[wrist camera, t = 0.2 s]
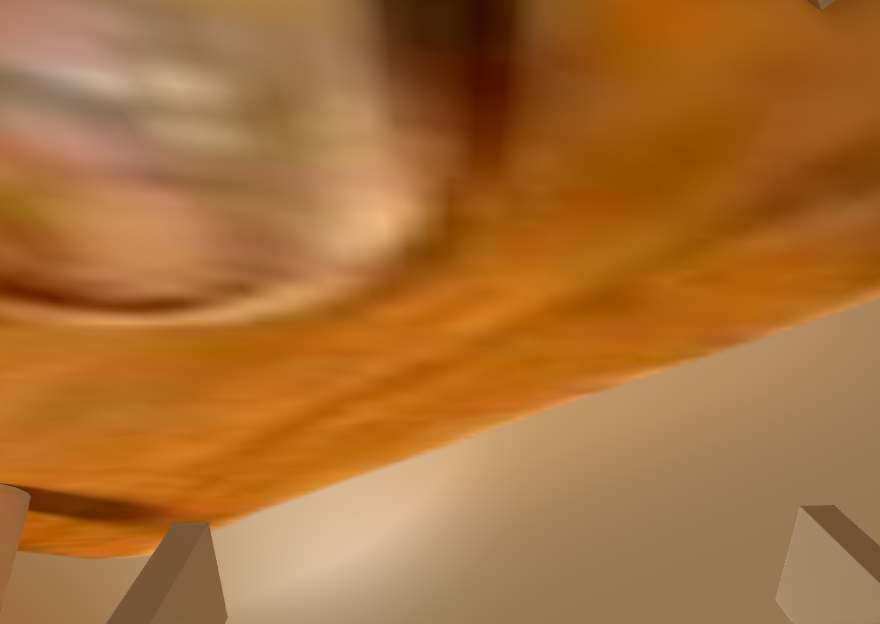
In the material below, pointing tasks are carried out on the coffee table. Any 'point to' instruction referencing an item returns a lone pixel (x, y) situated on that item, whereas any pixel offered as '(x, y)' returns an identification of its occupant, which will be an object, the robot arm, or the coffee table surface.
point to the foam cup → (10, 529)
